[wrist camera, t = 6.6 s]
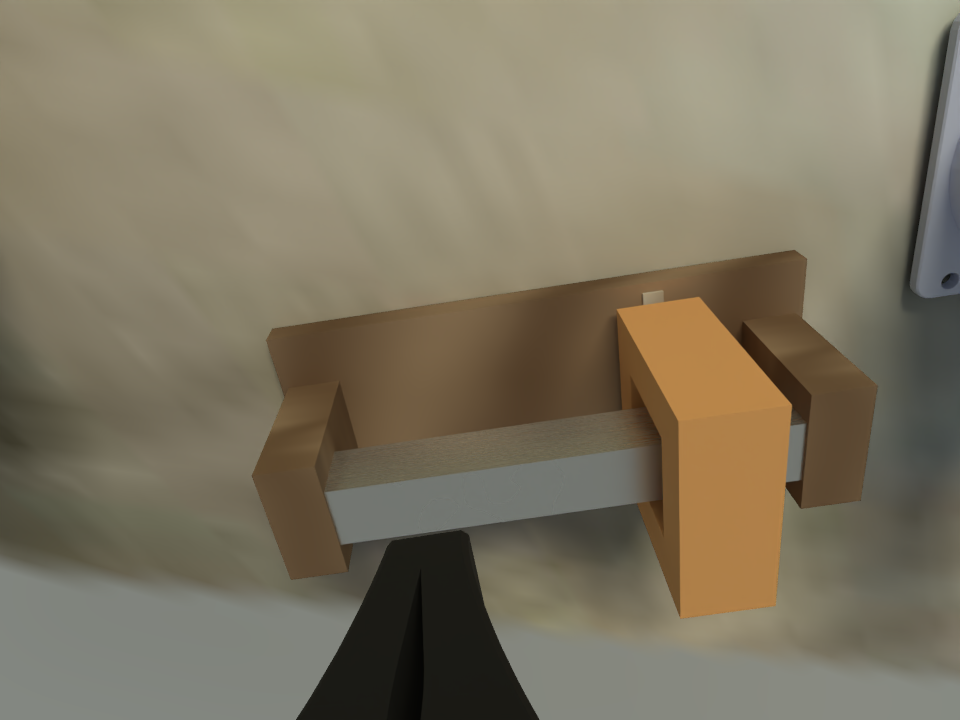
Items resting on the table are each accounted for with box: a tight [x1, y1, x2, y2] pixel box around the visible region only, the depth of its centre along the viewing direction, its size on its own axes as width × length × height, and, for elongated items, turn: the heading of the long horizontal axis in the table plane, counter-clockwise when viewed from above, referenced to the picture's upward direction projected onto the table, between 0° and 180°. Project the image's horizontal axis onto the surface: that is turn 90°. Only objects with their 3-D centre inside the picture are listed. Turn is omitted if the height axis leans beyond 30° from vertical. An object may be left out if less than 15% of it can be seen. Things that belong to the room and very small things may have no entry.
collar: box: [617, 297, 792, 619], centre depth 18 cm, size 2×6×6 cm, turn 8°
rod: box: [324, 407, 807, 545], centre depth 19 cm, size 16×2×2 cm, turn 98°
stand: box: [252, 250, 878, 580], centre depth 20 cm, size 16×7×5 cm, turn 98°
